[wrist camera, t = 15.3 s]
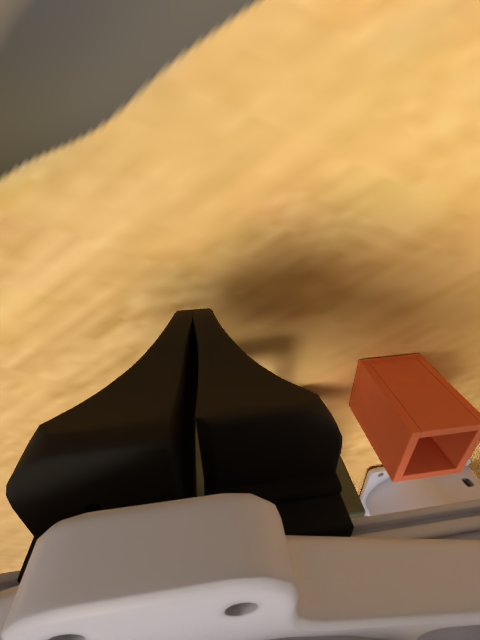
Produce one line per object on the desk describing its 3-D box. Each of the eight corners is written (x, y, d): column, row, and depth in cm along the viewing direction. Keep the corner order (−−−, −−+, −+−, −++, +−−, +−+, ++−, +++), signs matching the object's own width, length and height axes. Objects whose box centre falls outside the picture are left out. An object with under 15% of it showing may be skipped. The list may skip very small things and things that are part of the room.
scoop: (348, 405, 22) (392, 482, 17) (358, 359, 20) (412, 433, 15) (429, 395, 23) (495, 467, 18) (448, 350, 21) (528, 418, 16)
